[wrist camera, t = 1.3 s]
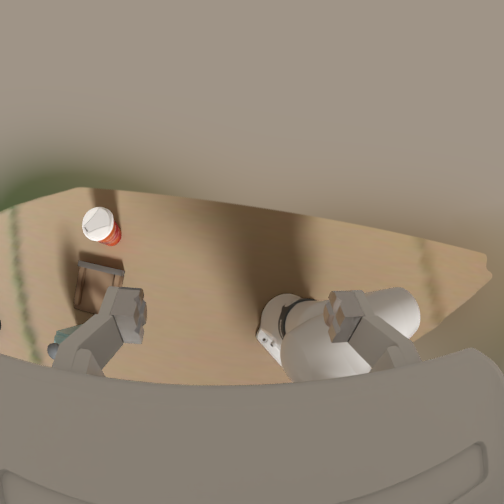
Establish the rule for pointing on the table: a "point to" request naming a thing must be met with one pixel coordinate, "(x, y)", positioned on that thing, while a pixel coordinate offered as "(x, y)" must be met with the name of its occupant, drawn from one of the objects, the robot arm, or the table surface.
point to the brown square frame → (95, 285)
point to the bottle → (60, 339)
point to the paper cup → (101, 226)
